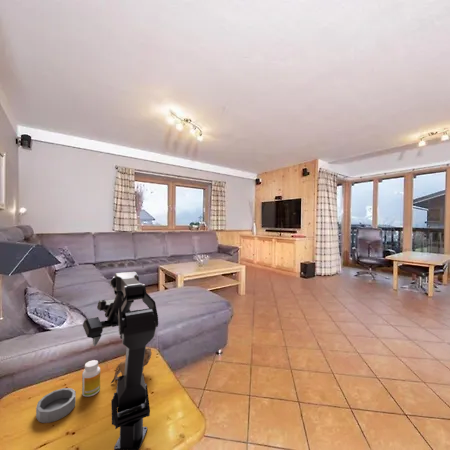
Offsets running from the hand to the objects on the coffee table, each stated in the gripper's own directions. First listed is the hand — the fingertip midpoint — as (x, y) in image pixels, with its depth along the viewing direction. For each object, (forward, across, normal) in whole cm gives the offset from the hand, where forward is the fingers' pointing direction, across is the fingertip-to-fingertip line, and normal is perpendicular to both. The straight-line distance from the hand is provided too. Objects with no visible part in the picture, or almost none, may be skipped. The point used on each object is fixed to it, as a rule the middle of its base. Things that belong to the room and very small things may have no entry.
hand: (108, 341), depth 82 cm
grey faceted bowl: (+16, +13, +6) cm, 22 cm away
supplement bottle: (+16, +3, +6) cm, 17 cm away
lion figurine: (+13, -11, +7) cm, 19 cm away
